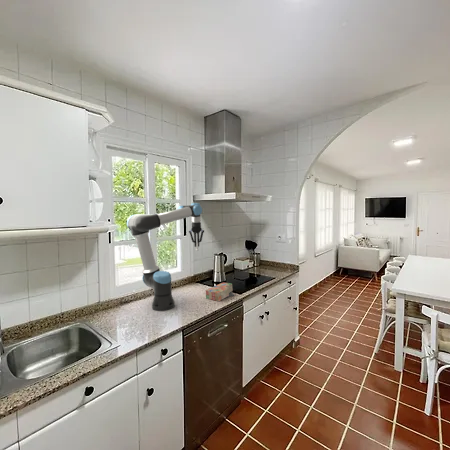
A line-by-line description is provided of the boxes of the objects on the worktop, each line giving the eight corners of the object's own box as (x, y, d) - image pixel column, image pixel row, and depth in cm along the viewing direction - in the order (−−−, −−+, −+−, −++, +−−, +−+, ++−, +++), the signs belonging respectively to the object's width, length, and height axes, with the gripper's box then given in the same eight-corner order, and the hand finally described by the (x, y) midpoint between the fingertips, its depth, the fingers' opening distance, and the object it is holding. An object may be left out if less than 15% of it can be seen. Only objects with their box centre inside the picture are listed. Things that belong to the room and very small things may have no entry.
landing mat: (221, 297, 186) (221, 296, 186) (214, 288, 207) (214, 288, 207) (234, 295, 189) (234, 295, 189) (225, 287, 210) (225, 286, 210)
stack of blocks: (222, 282, 201) (235, 283, 194) (223, 289, 202) (235, 291, 194) (205, 290, 184) (218, 292, 177) (206, 298, 185) (218, 301, 177)
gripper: (189, 222, 198) (189, 251, 199) (205, 221, 202) (205, 250, 203) (187, 222, 205) (188, 250, 207) (202, 221, 209) (203, 249, 211)
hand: (197, 250), depth 205 cm, fingers closed
